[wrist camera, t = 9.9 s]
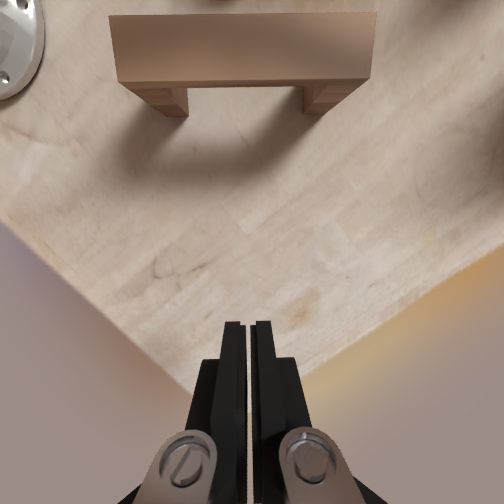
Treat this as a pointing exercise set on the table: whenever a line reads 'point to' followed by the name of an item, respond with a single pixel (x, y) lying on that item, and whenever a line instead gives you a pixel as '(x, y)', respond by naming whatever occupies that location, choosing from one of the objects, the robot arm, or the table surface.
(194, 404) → the robot arm
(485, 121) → the table surface
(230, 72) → the bridge
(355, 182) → the table surface
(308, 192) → the table surface
